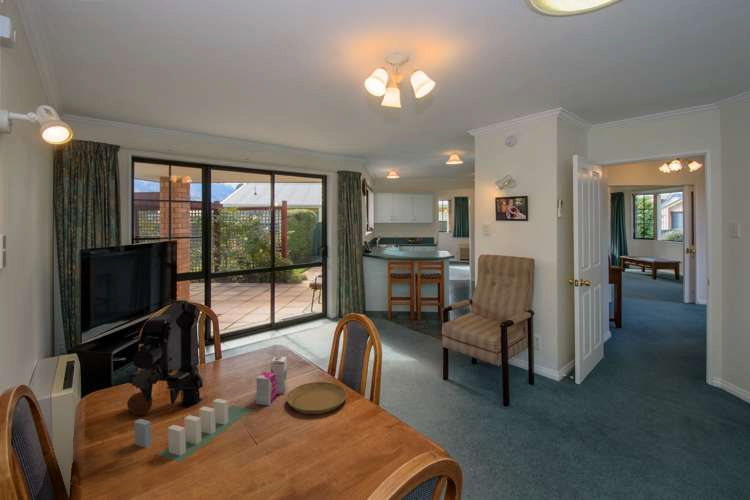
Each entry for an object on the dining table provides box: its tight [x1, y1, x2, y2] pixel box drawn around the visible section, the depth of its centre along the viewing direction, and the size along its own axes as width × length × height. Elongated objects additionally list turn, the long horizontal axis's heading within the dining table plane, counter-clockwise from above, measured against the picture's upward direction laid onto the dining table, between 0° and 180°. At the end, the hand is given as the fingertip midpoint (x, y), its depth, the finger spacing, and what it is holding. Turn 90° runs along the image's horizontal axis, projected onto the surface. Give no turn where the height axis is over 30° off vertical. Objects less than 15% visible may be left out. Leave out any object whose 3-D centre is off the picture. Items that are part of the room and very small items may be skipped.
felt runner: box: [157, 404, 253, 463], centre depth 122 cm, size 10×32×1 cm, turn 159°
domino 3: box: [198, 406, 216, 434], centre depth 121 cm, size 5×2×8 cm, turn 69°
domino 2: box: [183, 414, 202, 445], centre depth 115 cm, size 5×2×8 cm, turn 69°
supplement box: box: [255, 371, 277, 407], centre depth 141 cm, size 6×6×12 cm
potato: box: [126, 391, 154, 416], centre depth 134 cm, size 8×12×8 cm, turn 63°
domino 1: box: [167, 424, 186, 456], centre depth 110 cm, size 5×2×8 cm, turn 69°
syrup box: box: [270, 356, 288, 395], centre depth 150 cm, size 6×6×14 cm
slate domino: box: [133, 418, 153, 449], centre depth 114 cm, size 5×2×8 cm, turn 69°
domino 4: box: [212, 398, 229, 425], centre depth 126 cm, size 5×2×8 cm, turn 69°
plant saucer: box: [286, 381, 347, 415], centre depth 142 cm, size 24×24×3 cm
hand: (160, 402), depth 116 cm, fingers open, 9 cm apart
